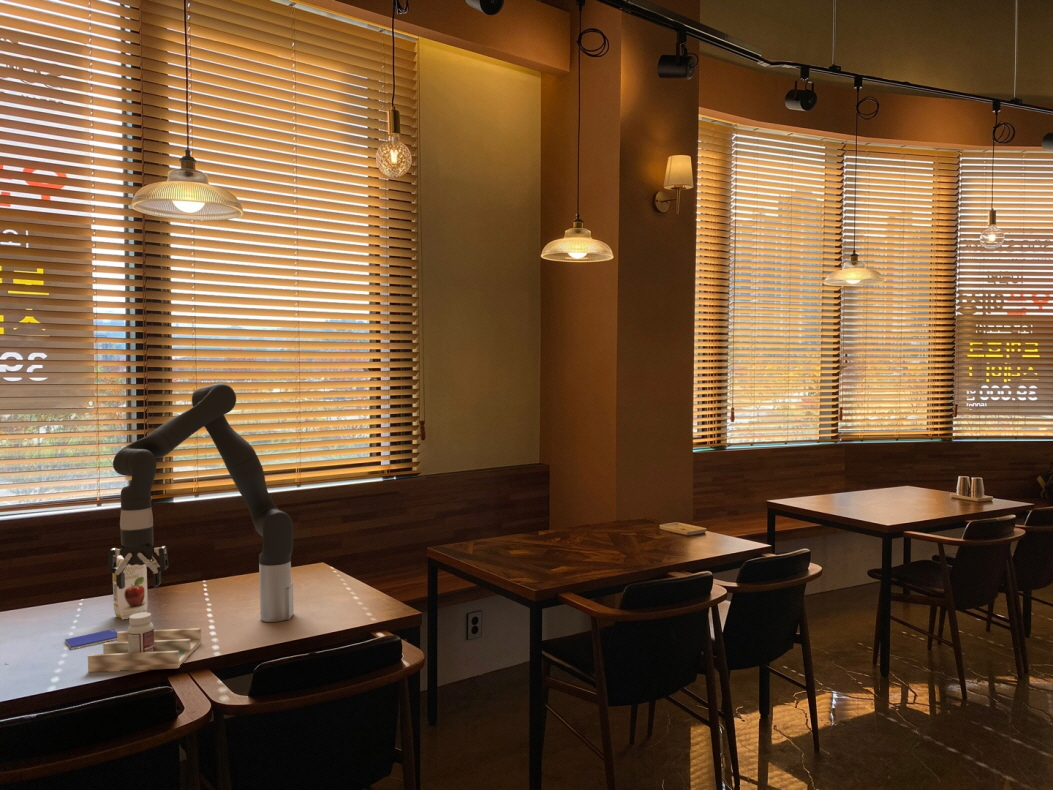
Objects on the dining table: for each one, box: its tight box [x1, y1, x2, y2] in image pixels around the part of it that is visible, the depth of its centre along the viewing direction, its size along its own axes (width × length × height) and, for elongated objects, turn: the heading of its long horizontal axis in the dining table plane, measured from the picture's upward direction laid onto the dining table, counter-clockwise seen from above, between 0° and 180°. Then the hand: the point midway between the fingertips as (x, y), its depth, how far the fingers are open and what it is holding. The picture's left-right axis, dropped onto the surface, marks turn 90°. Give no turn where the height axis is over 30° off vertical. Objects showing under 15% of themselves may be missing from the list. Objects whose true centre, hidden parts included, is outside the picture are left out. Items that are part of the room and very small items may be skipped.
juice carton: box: [112, 554, 149, 620], centre depth 240 cm, size 8×9×19 cm
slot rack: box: [87, 627, 202, 673], centre depth 206 cm, size 22×18×4 cm
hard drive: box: [64, 628, 118, 650], centre depth 219 cm, size 2×8×12 cm
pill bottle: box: [127, 612, 155, 653], centre depth 201 cm, size 6×6×11 cm
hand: (139, 587), depth 201 cm, fingers open, 8 cm apart
